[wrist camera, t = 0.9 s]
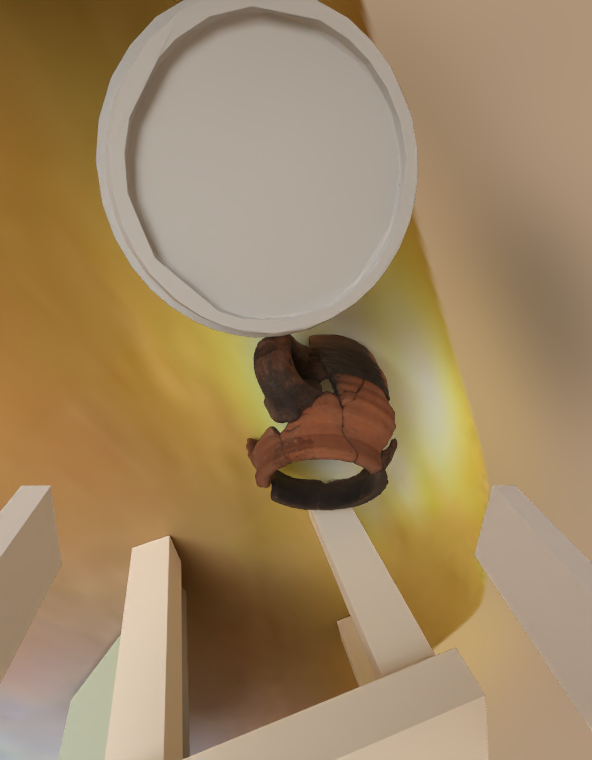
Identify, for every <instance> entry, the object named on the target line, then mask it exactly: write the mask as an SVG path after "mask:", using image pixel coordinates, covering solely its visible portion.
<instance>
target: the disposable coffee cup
mask: <svg viewBox="0 0 592 760" xmlns="http://www.w3.org/2000/svg"><path fill="white" fill-rule="evenodd" d="M417 159H418V158H417V144H416V138H415V132H414V126H413V121H412V115H411V113H410V110H409V107H408V105H407V102H406V99H405V97H404V94H403V91H402V89H401V87H400V85H399V83H398V81H397V79H396V77H395V75H394V72H393V70H392V68H391V67H390V65H389V63H388V62H387V61H386V59H385V58H384V56H383V55H382V54H381V52H380V51H379V50H378V48H377V47H376V46H375V44H374V43H373V42H372V40H370V39H369V38H368V37H367V36H366V35H365V34H364V33H363V32H362V31H361V30H360V29H359V28H358V27H357V26H356V25H355V24H354V23H353V22H352V21H351V20H350V19H349V18H347V17H346V16H344V15H342V14H340V13H339V12H337V11H335V10H333V9H332V8H330V7H328V6H326V5H325V4H323V3H321V2H319V1H318V0H183V1H181V2H180V3H178V4H176V5H175V6H173V7H171V8H170V9H168V10H166V11H165V12H163V13H161V14H160V15H158V16H156V17H155V18H154V19H153V21H152V22H151V23H150V24H149V25H148V26H147V27H146V28H145V29H144V30H143V31H142V33H141V34H140V35H139V36H138V37H137V38H136V39H135V40H134V41H133V42H132V43H131V44H130V46H129V48H128V49H127V51H126V53H125V54H124V56H123V58H122V60H121V61H120V63H119V65H118V66H117V68H116V70H115V72H114V73H113V75H112V77H111V79H110V83H109V86H108V89H107V93H106V96H105V99H104V103H103V106H102V110H101V113H100V116H99V122H98V136H97V150H96V166H97V173H98V179H99V185H100V192H101V198H102V204H103V207H104V210H105V212H106V215H107V218H108V221H109V223H110V226H111V229H112V232H113V234H114V237H115V239H116V241H117V242H118V244H119V246H120V248H121V249H122V251H123V253H124V254H125V256H126V258H127V260H128V261H129V263H130V265H131V266H132V268H133V269H134V270H135V271H136V272H137V274H138V275H139V276H140V277H141V278H142V280H143V281H144V282H145V283H146V284H147V285H148V287H149V288H150V289H151V290H152V291H153V292H154V293H156V294H157V295H158V296H159V297H160V298H161V299H162V300H164V301H165V302H166V303H167V304H168V305H169V306H171V307H172V308H174V309H175V310H177V311H179V312H180V313H182V314H183V315H185V316H187V317H188V318H190V319H192V320H193V321H195V322H197V323H200V324H202V325H204V326H207V327H209V328H211V329H214V330H218V331H222V332H225V333H229V334H234V335H241V336H248V337H272V336H284V335H288V334H292V333H296V332H300V331H304V330H308V329H311V328H313V327H315V326H317V325H319V324H321V323H323V322H325V321H327V320H329V319H331V318H333V317H335V316H337V315H338V314H339V313H341V312H342V311H344V310H345V309H347V308H349V307H350V306H352V305H353V304H355V303H356V302H357V301H358V300H359V299H360V298H361V297H362V296H363V295H365V294H366V293H367V292H368V291H369V290H370V289H371V288H372V287H373V286H374V285H375V284H376V282H377V281H378V280H379V279H380V278H381V276H382V275H383V274H384V273H385V271H386V270H387V268H388V266H389V265H390V263H391V261H392V260H393V258H394V256H395V255H396V253H397V251H398V250H399V248H400V246H401V243H402V240H403V238H404V235H405V233H406V230H407V228H408V225H409V223H410V219H411V215H412V211H413V207H414V203H415V196H416V187H417V179H418V161H417Z"/></svg>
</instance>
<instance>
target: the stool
mask: <svg viewBox="0 0 592 760" xmlns="http://www.w3.org/2000/svg"><path fill="white" fill-rule="evenodd" d="M334 480H336V479H334ZM334 480H331V481H334ZM328 482H330V481H328ZM325 483H327V482H325ZM308 513H309V516H310V519H311V521H312V524H313V526H314V529H315V531H316V534H317V536H318V538H319V541H320V543H321V546H322V548H323V550H324V553H325V555H326V558H327V560H328V563H329V565H330V567H331V570H332V572H333V575H334V577H335V580H336V582H337V584H338V587H339V589H340V592H341V594H342V596H343V599H344V601H345V604H346V606H347V609H348V611H349V613H350V616H349V617H346V618H343V619H341V620H338V621H337V625H338V628H339V632H340V636H341V640H342V643H343V646H344V648H345V651H346V654H347V656H348V659H349V662H350V664H351V667H352V670H353V673H354V675H355V678H356V681H357V683H358V686H359V687H358V688H356V689H353V690H351V691H349V692H346V693H344V694H341V695H339V696H336V697H334V698H331V699H329V700H327V701H324V702H322V703H319V704H317V705H314V706H312V707H309V708H307V709H305V710H302V711H300V712H297V713H295V714H292V715H290V716H287V717H285V718H283V719H280V720H278V721H275V722H273V723H270V724H268V725H266V726H263V727H261V728H258V729H256V730H253V731H251V732H248V733H246V734H244V735H241V736H239V737H236V738H234V739H231V740H229V741H226V742H224V743H222V744H219V745H217V746H214V747H212V748H209V749H207V750H205V751H202V752H200V753H197V754H195V755H192V756H190V757H187V758H185V759H183V731H182V609H181V560H180V558H179V556H178V554H177V551H176V549H175V547H174V545H173V542H172V540H171V538H170V536H166V537H163V538H160V539H157V540H154V541H151V542H148V543H145V544H142V545H139V546H136V547H133V548H132V554H131V562H130V570H129V577H128V585H127V593H126V600H125V608H124V615H123V623H122V631H121V638H120V646H119V654H118V661H117V669H116V676H115V684H114V692H113V699H112V707H111V715H110V722H109V730H108V737H107V745H106V753H105V760H489V756H488V737H487V719H486V699H485V694H484V692H483V691H482V689H481V687H480V686H479V685H478V683H477V681H476V679H475V678H474V676H473V675H472V673H471V671H470V670H469V668H468V666H467V665H466V663H465V662H464V660H463V658H462V657H461V655H460V654H459V652H458V650H457V649H456V648H453V649H451V650H449V651H446V652H444V653H441V654H439V655H435V654H434V652H433V650H432V648H431V646H430V645H429V643H428V641H427V639H426V638H425V636H424V634H423V632H422V630H421V629H420V627H419V625H418V623H417V622H416V620H415V618H414V616H413V615H412V613H411V611H410V609H409V607H408V606H407V604H406V602H405V600H404V599H403V597H402V595H401V593H400V591H399V590H398V588H397V586H396V584H395V583H394V581H393V579H392V577H391V576H390V574H389V572H388V570H387V568H386V567H385V565H384V563H383V561H382V560H381V558H380V556H379V554H378V552H377V551H376V549H375V547H374V545H373V544H372V542H371V540H370V538H369V537H368V535H367V533H366V531H365V529H364V528H363V526H362V524H361V522H360V521H359V519H358V517H357V515H356V513H355V512H354V510H353V508H352V507H350V508H346V509H336V510H308Z"/></svg>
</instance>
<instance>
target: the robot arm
mask: <svg viewBox="0 0 592 760" xmlns="http://www.w3.org/2000/svg"><path fill="white" fill-rule="evenodd" d="M474 556H475V557H476V559H477V560H478V562H479V563H480V565H481V566H482V568H483V569H484V571H485V572H486V574H487V575H488V577H489V578H490V580H491V581H492V583H493V584H494V586H495V587H496V589H497V590H498V592H499V593H500V595H501V596H502V598H503V599H504V601H505V602H506V603H507V605H508V607H509V608H510V610H511V611H512V613H513V614H514V615H515V617H516V618H517V620H518V621H519V623H520V624H521V626H522V628H523V629H524V631H525V632H526V634H527V635H528V637H529V638H530V639H531V641H532V643H533V644H534V646H535V647H536V649H537V650H538V652H539V653H540V655H541V656H542V658H543V659H544V661H545V662H546V663H547V665H548V667H549V668H550V670H551V671H552V673H553V674H554V676H555V677H556V678H557V680H558V681H559V683H560V685H561V686H562V687H563V689H564V691H565V692H566V694H567V695H568V696H569V698H570V700H571V701H572V702H573V704H574V705H575V707H576V708H577V710H578V712H579V713H580V715H581V716H582V718H583V719H584V721H585V722H586V724H587V725H588V727H589V728H590V729H591V731H592V563H591V562H590V561H589V560H588V559H587V558H586V557H585V556H584V555H583V554H582V553H581V552H580V551H579V550H578V549H577V548H576V547H575V546H574V545H573V543H572V542H571V541H570V540H569V539H568V538H567V537H565V535H564V534H563V533H562V532H561V531H560V530H559V529H558V528H557V527H556V526H555V525H554V524H553V523H552V522H551V521H550V520H549V519H548V518H547V517H546V516H545V515H544V514H543V513H542V512H541V511H540V510H539V509H538V508H537V507H536V506H535V505H534V504H533V503H532V502H531V501H530V500H529V499H528V498H527V497H526V496H525V495H524V494H523V493H522V492H521V491H520V490H519V489H518V488H517V487H516V486H514V485H493V486H492V490H491V493H490V497H489V501H488V505H487V508H486V512H485V516H484V520H483V524H482V527H481V531H480V535H479V539H478V543H477V546H476V550H475V554H474ZM61 565H62V560H61V553H60V546H59V539H58V532H57V525H56V518H55V511H54V504H53V497H52V490H51V486H21V487H20V488H19V489H18V491H17V492H16V493H15V494H14V496H13V497H12V498H11V499H10V500H9V502H8V503H7V504H6V505H5V507H4V508H3V509H2V510H1V511H0V683H1V681H2V679H3V677H4V675H5V673H6V671H7V669H8V667H9V665H10V663H11V661H12V660H13V658H14V656H15V654H16V652H17V650H18V648H19V646H20V644H21V642H22V640H23V638H24V636H25V634H26V633H27V631H28V629H29V627H30V625H31V623H32V621H33V619H34V617H35V615H36V613H37V611H38V609H39V608H40V606H41V604H42V602H43V600H44V598H45V596H46V594H47V592H48V590H49V588H50V586H51V584H52V582H53V581H54V579H55V577H56V575H57V573H58V571H59V569H60V567H61Z"/></svg>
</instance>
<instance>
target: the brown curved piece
mask: <svg viewBox="0 0 592 760" xmlns="http://www.w3.org/2000/svg"><path fill="white" fill-rule="evenodd" d="M309 343H310V345H309V347H310V348H309V347H307V346H303V345H301V344H300V343H298V342H297V341H296V340H295V339H294V338H293V337H292V336H291V335H290V334H288V335H284V336H272V337H265V338H263V339H262V340H261V341H260V342H259V343H258V345H257V347H256V350H255V353H254V369H255V374H256V378H257V380H258V383H259V385H260V387H261V389H262V392H263V393H264V395H265V399H264V405H265V407H266V408H267V410H268V412H269V414H270V417H271V418H272V419H273V420H274V421H276V422H278V423H286V422H288V425H287V426H286V428H285V429H284V430H283V431H282V432H281V433H280V432H279V431H278V430H277V429H276V428H275V427H269V428H268V429H267V430H266V432H265V433H264V434H263V436H262V437H261V439H260V440H259V441H257V440H254V439H252V438H248V439H247V445H246V448H247V450H248V456H249V458H250V460H251V462H252V464H253V466H254V467H255V468H256V470H257V471H256V475H255V478H256V483H257V485H258V486H259V487H264V488H268V487H269V486H270V484H272V490H271V499H272V500H273V501H274V502H277V503H279V504H282V505H285V506H289V507H292V508H298V509H304V510H336V509H346V508H350V507H355V506H358V505H361V504H364V503H367V502H368V501H370V500H372V499H374V498H375V497H377V496H378V495H380V494H381V492H382V491H383V490H384V489H385V488H386V485H387V484H388V480H387V474H386V471H385V469H386V468H387V466H388V465H389V463H390V462H391V460H392V458H393V455H394V453H395V451H396V448H397V440H396V439H395V438H394V439H392V440H391V442H390V445H389V447H387V449H385V450H383V448H384V447H385V446H386V445H387V443H388V441H389V439H390V438H391V437H392V434H393V431H394V430H395V428H396V425H395V412H394V410H393V409H392V407H391V406H390V404H389V402H388V401H389V400H390V397H389V391H388V387H387V380H386V378H385V376H384V374H383V372H382V370H381V369H380V368H379V366H378V365H377V362H376V360H375V358H374V357H373V355H372V354H371V353H370V352H369V351H368V350H367V349H366V348H365V347H364V346H363V345H361V344H359V343H358V342H356V341H354V340H351V339H348V338H345V337H343V336H338V335H314V336H310V337H309ZM326 378H327V379H329V381H330V383H331V385H332V388H333V389H334V392H335V393H331V392H328V391H325V392H322V386H321V385H320V383H321V382H322V381H323V380H325V379H326ZM312 459H333V460H342V461H346V462H353V463H355V464H357V465H359V466H361V467H363V468H364V469H363V470H362V471H361V472H360V473H359V474H357V475H356V476H353V477H351V478H349V479H342V480H334V481H330V482H327V483H323V482H322V481H319V480H305V479H297V478H292V477H290V476H288V475H286V474H284V473H282V472H280V471H279V470H278V469H279V468H281V467H284V466H286V465H287V464H290V463H292V462H293V461H302V460H312ZM371 473H372V474H371Z"/></svg>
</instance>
